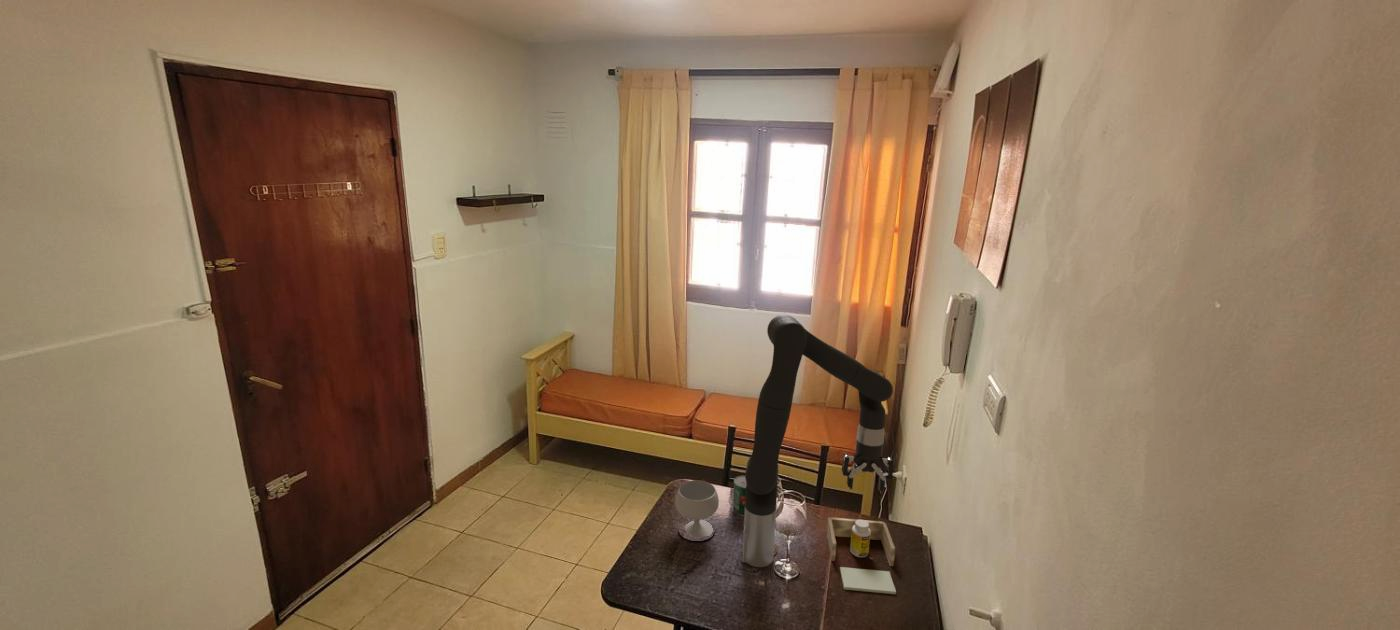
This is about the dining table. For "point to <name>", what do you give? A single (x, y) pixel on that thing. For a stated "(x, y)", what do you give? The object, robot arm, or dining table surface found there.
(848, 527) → the cubby
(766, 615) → the dining table surface
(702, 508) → the chalice
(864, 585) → the mat
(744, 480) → the canned tomato
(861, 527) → the supplement bottle
